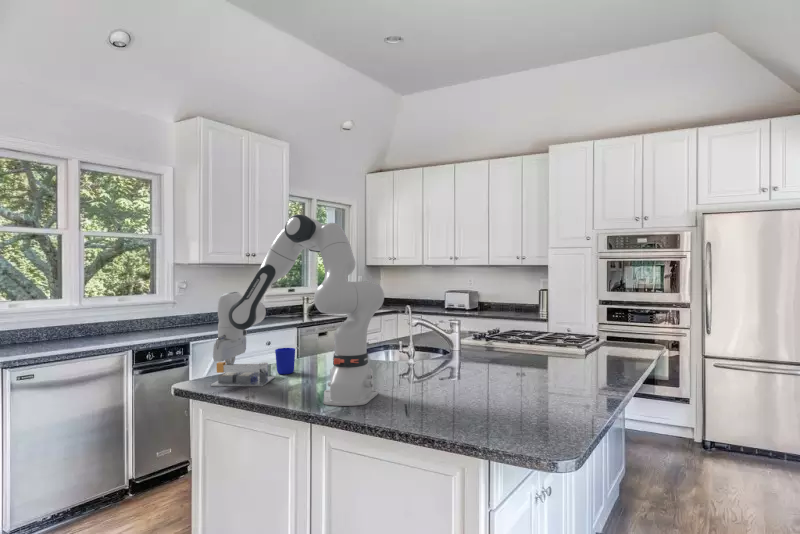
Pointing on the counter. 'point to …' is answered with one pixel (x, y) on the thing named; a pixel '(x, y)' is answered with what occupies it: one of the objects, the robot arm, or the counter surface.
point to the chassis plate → (255, 383)
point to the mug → (285, 360)
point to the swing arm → (241, 367)
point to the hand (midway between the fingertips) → (230, 368)
